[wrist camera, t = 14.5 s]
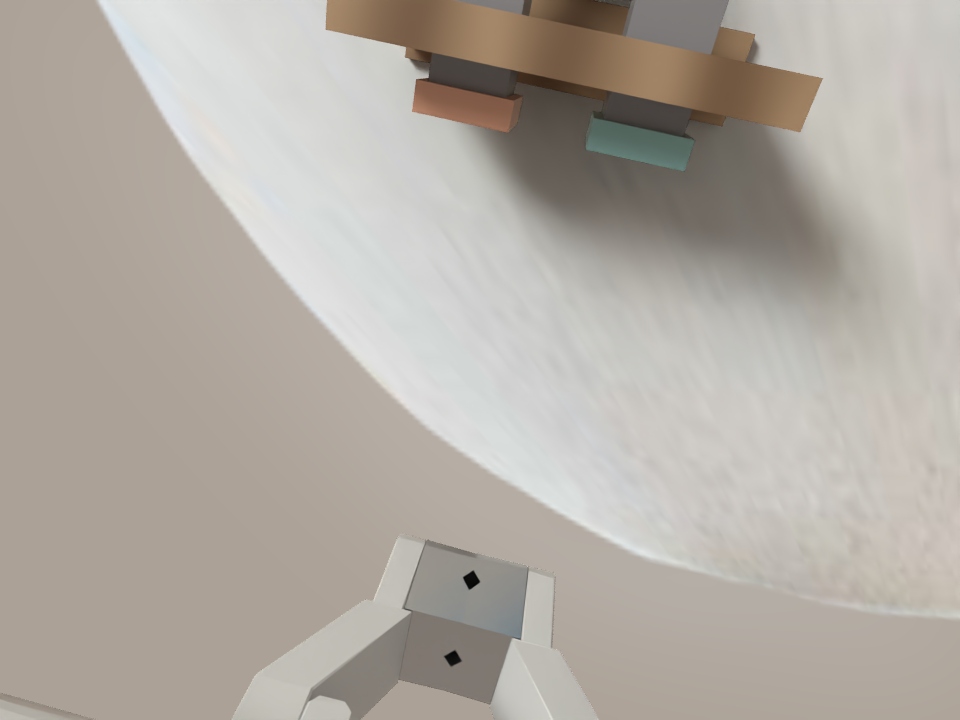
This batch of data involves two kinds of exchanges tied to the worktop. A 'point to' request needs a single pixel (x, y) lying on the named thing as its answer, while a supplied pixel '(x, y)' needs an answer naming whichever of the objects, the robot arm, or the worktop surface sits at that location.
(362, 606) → the robot arm
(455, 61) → the terracotta button
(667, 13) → the teal button
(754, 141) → the worktop surface
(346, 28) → the walnut panel
